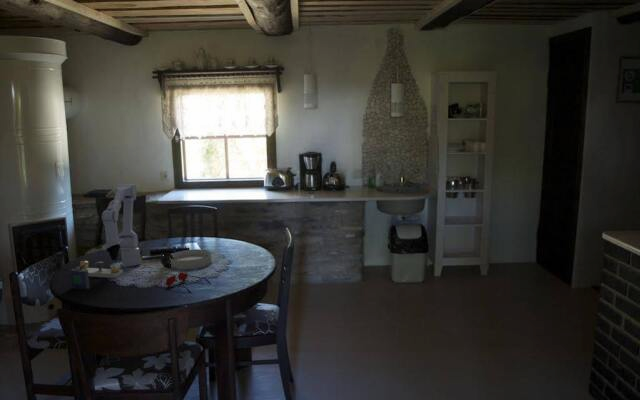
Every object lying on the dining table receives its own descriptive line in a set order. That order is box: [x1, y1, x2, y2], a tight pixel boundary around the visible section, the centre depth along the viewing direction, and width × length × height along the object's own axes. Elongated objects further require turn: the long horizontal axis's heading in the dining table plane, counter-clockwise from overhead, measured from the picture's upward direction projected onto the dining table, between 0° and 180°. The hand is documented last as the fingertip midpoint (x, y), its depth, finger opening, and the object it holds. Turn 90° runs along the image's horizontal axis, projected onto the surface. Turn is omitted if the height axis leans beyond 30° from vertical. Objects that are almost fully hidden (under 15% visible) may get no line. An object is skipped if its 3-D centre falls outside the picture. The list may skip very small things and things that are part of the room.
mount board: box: [82, 267, 124, 279], centre depth 259 cm, size 22×7×2 cm, turn 76°
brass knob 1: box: [79, 260, 90, 269], centre depth 260 cm, size 4×4×4 cm
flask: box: [70, 265, 90, 291], centre depth 238 cm, size 9×3×11 cm, turn 74°
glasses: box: [164, 271, 212, 294], centre depth 239 cm, size 14×16×5 cm
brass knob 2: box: [110, 265, 121, 273], centre depth 256 cm, size 4×4×4 cm
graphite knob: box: [94, 260, 105, 270], centre depth 258 cm, size 4×4×4 cm
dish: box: [169, 248, 212, 270], centre depth 275 cm, size 22×22×5 cm
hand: (114, 259), depth 255 cm, fingers closed
